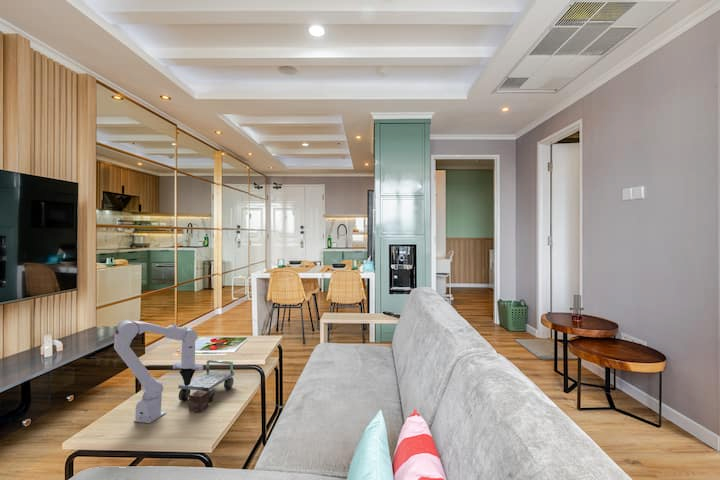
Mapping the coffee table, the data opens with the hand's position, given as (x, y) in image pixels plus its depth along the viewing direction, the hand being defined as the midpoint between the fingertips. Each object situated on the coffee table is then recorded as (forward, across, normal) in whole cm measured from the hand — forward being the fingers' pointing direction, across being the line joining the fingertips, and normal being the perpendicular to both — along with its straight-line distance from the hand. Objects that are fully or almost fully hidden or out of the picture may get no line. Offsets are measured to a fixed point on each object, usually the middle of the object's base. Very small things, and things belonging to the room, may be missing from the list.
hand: (187, 384), depth 159 cm
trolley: (+10, -1, -14) cm, 17 cm away
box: (+10, -7, +2) cm, 13 cm away
